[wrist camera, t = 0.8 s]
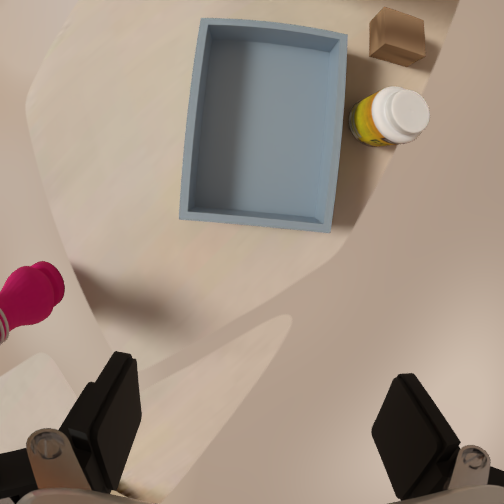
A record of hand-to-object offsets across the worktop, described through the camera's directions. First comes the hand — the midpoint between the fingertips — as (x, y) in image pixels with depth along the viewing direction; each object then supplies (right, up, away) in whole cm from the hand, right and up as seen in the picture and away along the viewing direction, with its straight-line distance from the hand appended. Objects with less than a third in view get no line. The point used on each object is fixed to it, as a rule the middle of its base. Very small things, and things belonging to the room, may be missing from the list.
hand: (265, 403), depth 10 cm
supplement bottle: (+13, +20, +23) cm, 33 cm away
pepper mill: (-28, +1, +27) cm, 39 cm away
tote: (+1, +19, +23) cm, 29 cm away
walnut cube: (+16, +30, +20) cm, 40 cm away
